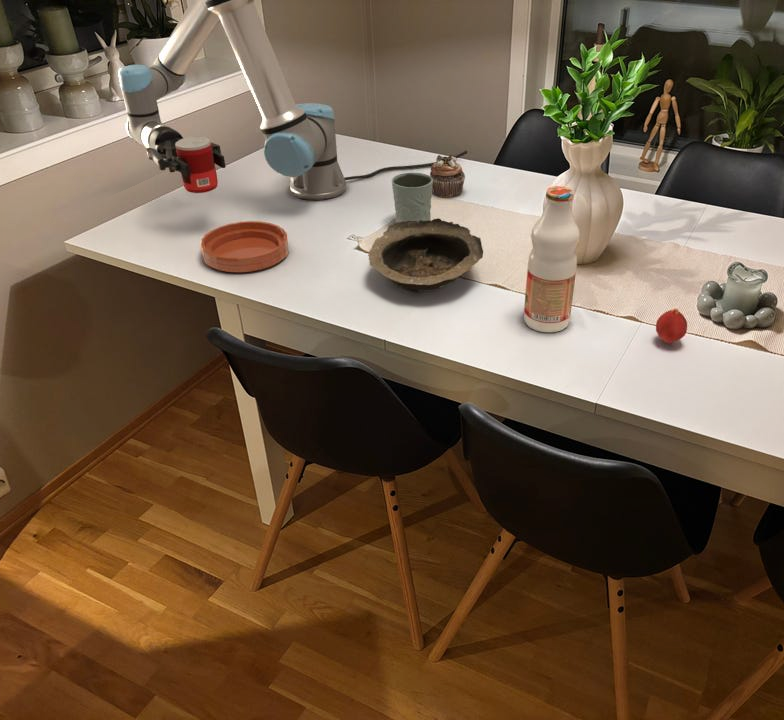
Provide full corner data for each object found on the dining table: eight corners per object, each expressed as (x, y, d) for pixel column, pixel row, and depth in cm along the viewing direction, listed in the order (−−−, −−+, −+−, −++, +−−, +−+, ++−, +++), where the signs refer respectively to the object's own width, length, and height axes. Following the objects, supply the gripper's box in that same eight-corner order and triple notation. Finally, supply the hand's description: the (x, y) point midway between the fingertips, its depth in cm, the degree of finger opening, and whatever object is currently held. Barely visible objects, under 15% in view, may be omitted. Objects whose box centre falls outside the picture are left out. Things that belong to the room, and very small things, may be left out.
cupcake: (434, 200, 198) (434, 164, 192) (427, 186, 205) (426, 152, 200) (468, 197, 200) (469, 161, 194) (460, 184, 207) (460, 149, 202)
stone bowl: (468, 247, 175) (470, 212, 169) (490, 307, 156) (493, 271, 150) (364, 252, 171) (363, 217, 165) (374, 315, 152) (373, 278, 146)
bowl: (287, 233, 180) (285, 218, 178) (290, 270, 165) (288, 254, 163) (206, 239, 177) (203, 224, 175) (201, 278, 161) (198, 262, 159)
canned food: (224, 183, 176) (217, 138, 170) (205, 195, 170) (196, 149, 164) (197, 179, 178) (189, 134, 172) (177, 191, 172) (167, 145, 166)
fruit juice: (542, 338, 144) (556, 205, 127) (514, 316, 150) (523, 187, 134) (579, 325, 148) (597, 194, 131) (550, 304, 154) (563, 177, 138)
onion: (648, 334, 145) (656, 300, 140) (677, 333, 146) (685, 299, 141) (658, 351, 140) (665, 316, 136) (687, 350, 141) (695, 315, 136)
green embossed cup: (401, 236, 180) (400, 189, 173) (387, 220, 187) (385, 175, 180) (439, 229, 183) (439, 183, 176) (423, 213, 191) (423, 169, 184)
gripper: (205, 146, 189) (249, 171, 176) (125, 165, 178) (166, 193, 164) (199, 117, 185) (244, 140, 171) (118, 134, 174) (158, 161, 160)
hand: (205, 166), depth 168 cm, fingers closed on canned food, 8 cm apart
